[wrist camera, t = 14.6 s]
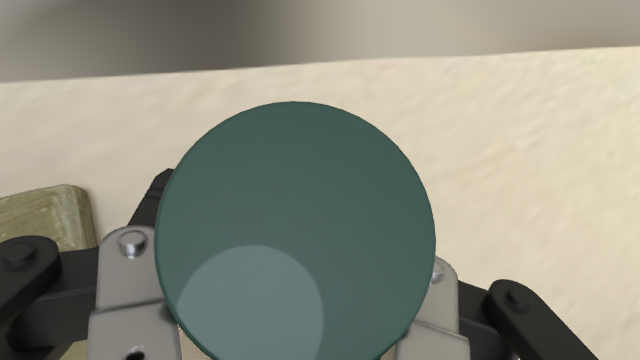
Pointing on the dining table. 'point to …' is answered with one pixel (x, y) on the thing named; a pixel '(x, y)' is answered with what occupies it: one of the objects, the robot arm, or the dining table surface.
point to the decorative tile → (51, 226)
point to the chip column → (294, 237)
